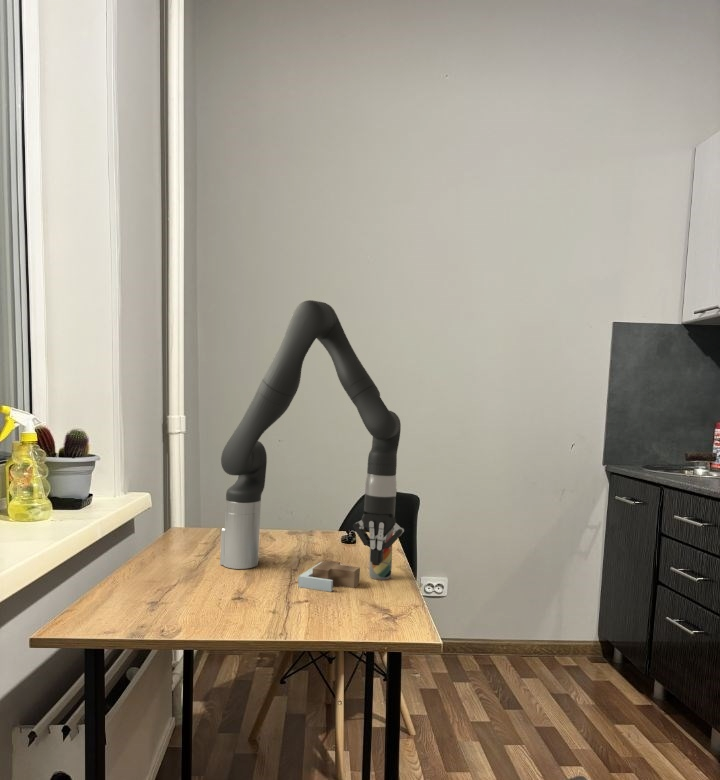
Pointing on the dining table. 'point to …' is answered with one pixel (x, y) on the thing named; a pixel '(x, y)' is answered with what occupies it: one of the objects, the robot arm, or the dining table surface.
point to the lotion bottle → (383, 563)
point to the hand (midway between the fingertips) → (376, 564)
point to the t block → (338, 573)
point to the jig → (314, 581)
